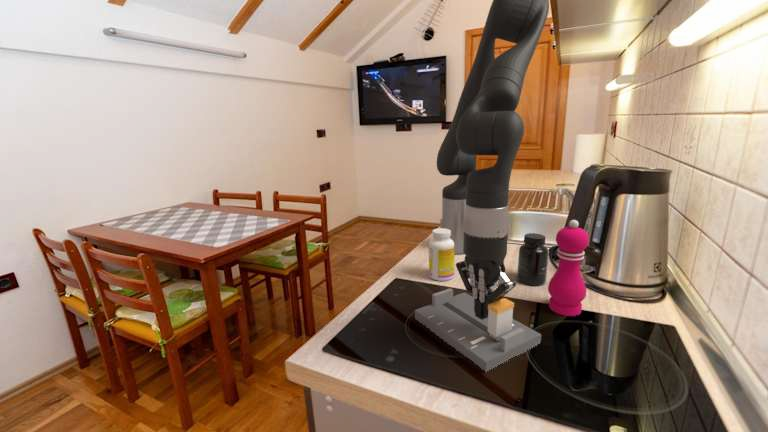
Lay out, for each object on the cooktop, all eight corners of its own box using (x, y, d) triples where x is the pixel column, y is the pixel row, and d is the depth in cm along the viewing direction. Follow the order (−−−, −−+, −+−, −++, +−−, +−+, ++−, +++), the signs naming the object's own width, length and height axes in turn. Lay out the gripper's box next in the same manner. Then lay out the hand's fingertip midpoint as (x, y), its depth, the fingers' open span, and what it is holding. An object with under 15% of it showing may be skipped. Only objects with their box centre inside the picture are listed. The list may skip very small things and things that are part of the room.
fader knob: (486, 336, 64) (487, 304, 62) (502, 329, 66) (504, 297, 64) (495, 342, 62) (497, 309, 60) (512, 334, 64) (514, 302, 62)
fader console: (414, 318, 75) (414, 299, 74) (464, 300, 82) (464, 282, 80) (485, 372, 58) (486, 349, 57) (540, 343, 65) (542, 322, 64)
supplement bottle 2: (548, 287, 86) (553, 240, 83) (519, 285, 88) (522, 240, 84) (542, 275, 93) (546, 232, 90) (515, 274, 94) (517, 231, 91)
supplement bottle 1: (458, 275, 95) (459, 229, 91) (445, 284, 90) (445, 236, 87) (438, 269, 99) (438, 225, 96) (423, 277, 94) (423, 231, 91)
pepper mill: (582, 321, 72) (594, 226, 66) (543, 312, 75) (552, 222, 70) (584, 305, 77) (595, 217, 72) (549, 297, 81) (556, 213, 76)
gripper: (444, 224, 66) (443, 308, 70) (500, 243, 55) (495, 341, 59) (474, 218, 70) (471, 297, 74) (531, 234, 59) (524, 327, 63)
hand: (482, 316), depth 67 cm, fingers closed
